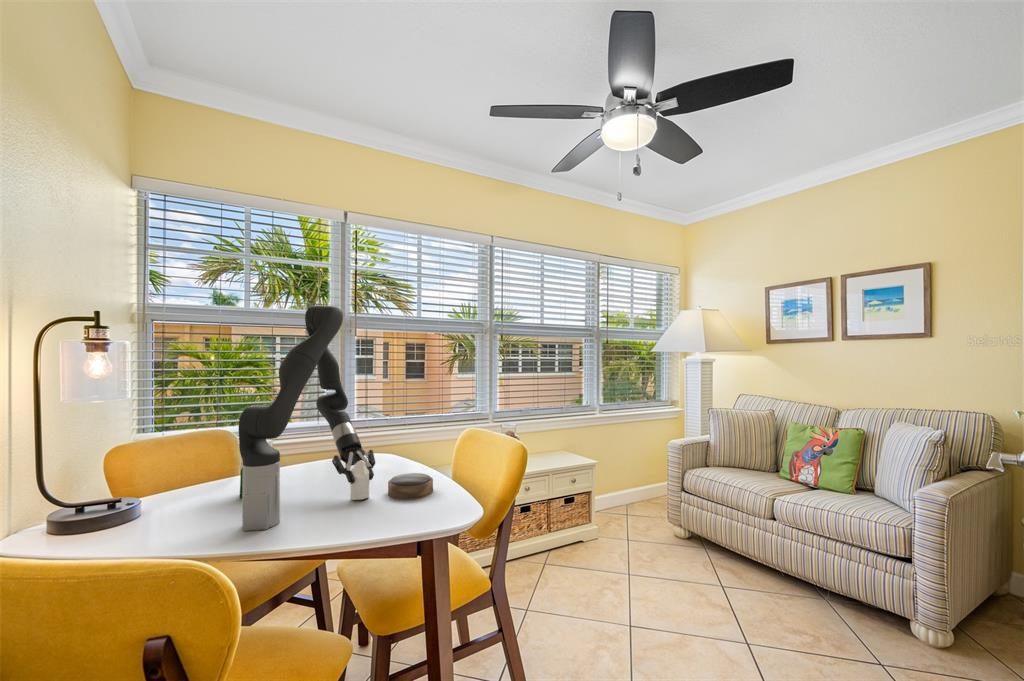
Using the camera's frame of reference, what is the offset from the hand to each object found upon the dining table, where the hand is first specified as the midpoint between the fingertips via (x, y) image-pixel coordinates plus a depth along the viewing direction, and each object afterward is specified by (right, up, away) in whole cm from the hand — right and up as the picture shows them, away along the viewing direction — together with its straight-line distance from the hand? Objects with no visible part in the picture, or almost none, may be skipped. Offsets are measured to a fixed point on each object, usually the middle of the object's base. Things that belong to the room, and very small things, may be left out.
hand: (362, 480), depth 149 cm
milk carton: (-39, -7, +7) cm, 40 cm away
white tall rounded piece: (-1, -6, +1) cm, 6 cm away
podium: (+14, -6, +8) cm, 17 cm away
